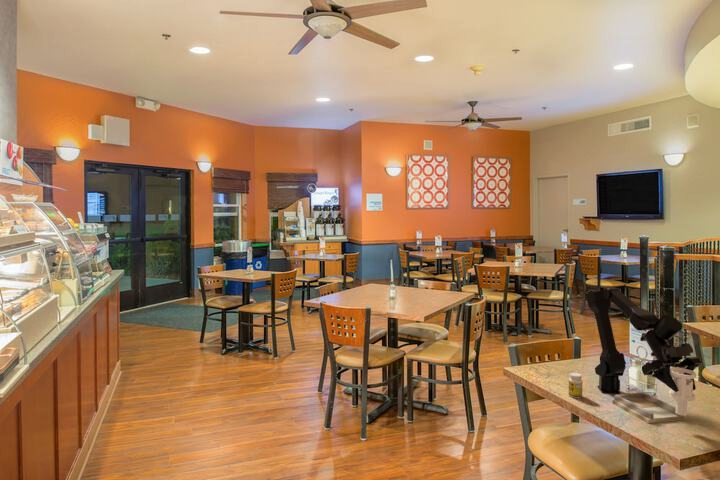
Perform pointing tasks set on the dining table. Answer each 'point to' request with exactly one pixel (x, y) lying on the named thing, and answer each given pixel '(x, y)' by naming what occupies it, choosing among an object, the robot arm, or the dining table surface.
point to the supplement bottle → (575, 385)
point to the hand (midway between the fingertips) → (685, 390)
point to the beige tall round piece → (682, 388)
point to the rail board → (646, 407)
